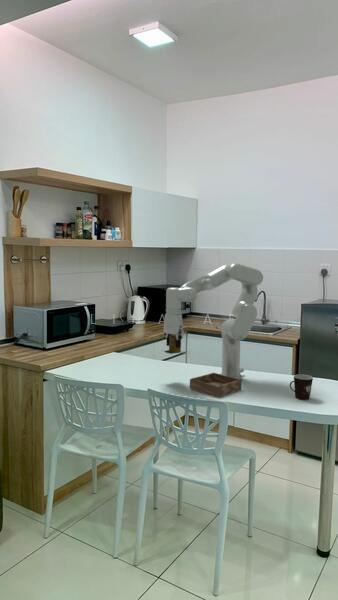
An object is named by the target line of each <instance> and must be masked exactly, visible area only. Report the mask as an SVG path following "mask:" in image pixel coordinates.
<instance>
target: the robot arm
mask: <svg viewBox="0 0 338 600" xmlns="http://www.w3.org/2000/svg"><path fill="white" fill-rule="evenodd" d="M231 280H234V281H237V282H240V283H241V292H240V295H239V296H238V298H237V300H236V302H235V304H234V306H233V308H232V311H231V312H232V315H233V317H234V318H236V320H235V319H226V320H225V321H224V322H223V323H222V324H221V329H220V330H221V331H220V332H221V339H222V348H221V351H222V353H221V373H220V374H221V375H225V376H229V377H233V378H237V379H240V380H242V379H243V375H242V374H241V373H243V372H245V368H243V367H242V368H241V367H240V365H241V341H242V340H245V339H246V338H247V336H248V335H249V333H250V331H251V329H252V327H253V325H254V323H255V321H256V319H257V317H258V310H257V307H256V306H255V305H254V304H255V302H256V300H257V297H258V293H259V292H258V286H260V285H261V284H262V283H263V281H264V275H263V273H262V272H261V270H259V269H257V268H253V267H249V266H246V265H243V264H240V263H236V262H235V263H234V262H228V263H227V262H226V263H225V264H224V265H221V266H219V267H218V268H216V269H215V270H212V271H210V272H209V273H207V274H205V275H202V276H200V277H197V278H195V279H192V280H190V281H188V282H186V283H184V284H183V285H182V286H180V287H173V286H172V287H168V288H167V289H166V291H165V292H166V293H165V296H166V298H165V299H166V301H165V307H166V308H165V312H166V313H165V314H164V319H163V320H164V321H163V329H162V332H163V334H164V335H165V338H166V347H169V334H173V335H176V339H177V340H176V348H179V347H182V340H183V338H184V337H185V335H186V332H185V331H184V323H183V315H182V302H185V303H192V302H194V301H196V300H197V298H198V294H200V293H201V292H204V291H211V290H214V289H217V288H218V287H220V286H222V285H224V284H225V283H228V282H230V281H231ZM178 333H179V334H178ZM178 335H179V337H178Z"/></svg>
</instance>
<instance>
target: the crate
mask: <svg viewBox="0 0 338 600" xmlns="http://www.w3.org/2000/svg"><path fill="white" fill-rule="evenodd" d="M242 382H243V381H242V379H237V378H233V377H229V376H225V375H221V373H217V372H211V373H208V374H207V373H206V374H204V375H201V376H200V375H199V376H196V377H192V378H189V390H192V391H196V392H198V393H203V394H206V395H209V396H212V397H215V398H220V397H223V396H226V395H230V394H232V393H235V391H236V392H239V391H242ZM238 390H239V391H238Z"/></svg>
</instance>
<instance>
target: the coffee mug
mask: <svg viewBox="0 0 338 600" xmlns="http://www.w3.org/2000/svg"><path fill="white" fill-rule="evenodd" d="M313 381H314V377H313V376H312V375H307V374H301V373H300V374H294V375H293V380H291V381H290V383H289V388H290V390H291V391H292V392H294V396H295V397H294V398H295V399H297V400H301V401H307V400H310V397H311V391H312V385H313ZM292 384H294V389H293V387H292Z"/></svg>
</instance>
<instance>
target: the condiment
mask: <svg viewBox="0 0 338 600" xmlns="http://www.w3.org/2000/svg"><path fill="white" fill-rule="evenodd" d="M178 334H179V333H178ZM178 337H179V335H178ZM176 340H177V339H176V335H173V334H169V346H168V350H162V352H164V353H165V354H168V355H172V354H180V353H184V351H182V350H181V349H182V348H181V347H182V346H181V347H179V348H176Z"/></svg>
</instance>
